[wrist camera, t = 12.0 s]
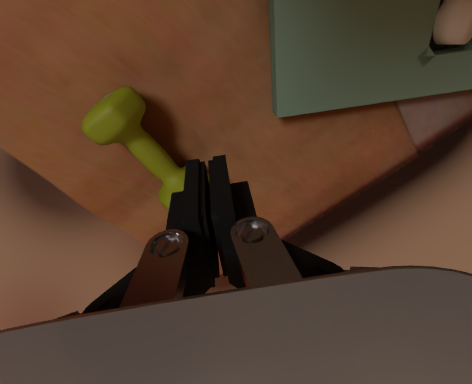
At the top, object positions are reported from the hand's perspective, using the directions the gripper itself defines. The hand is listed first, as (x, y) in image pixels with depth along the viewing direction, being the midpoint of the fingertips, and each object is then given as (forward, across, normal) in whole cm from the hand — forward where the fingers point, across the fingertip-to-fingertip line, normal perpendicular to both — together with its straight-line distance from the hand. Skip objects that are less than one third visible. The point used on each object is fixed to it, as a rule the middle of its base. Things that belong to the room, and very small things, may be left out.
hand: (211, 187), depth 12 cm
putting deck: (+25, -22, -2) cm, 33 cm away
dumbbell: (+26, +8, +8) cm, 28 cm away
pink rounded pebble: (+24, -28, -2) cm, 37 cm away
